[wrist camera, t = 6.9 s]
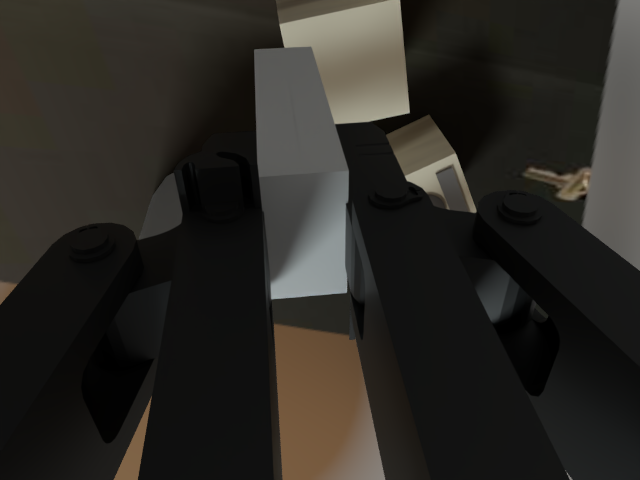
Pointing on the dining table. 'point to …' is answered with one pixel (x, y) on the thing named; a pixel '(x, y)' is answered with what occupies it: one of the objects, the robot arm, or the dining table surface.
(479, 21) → the dining table surface
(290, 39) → the plain block
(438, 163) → the striped block
